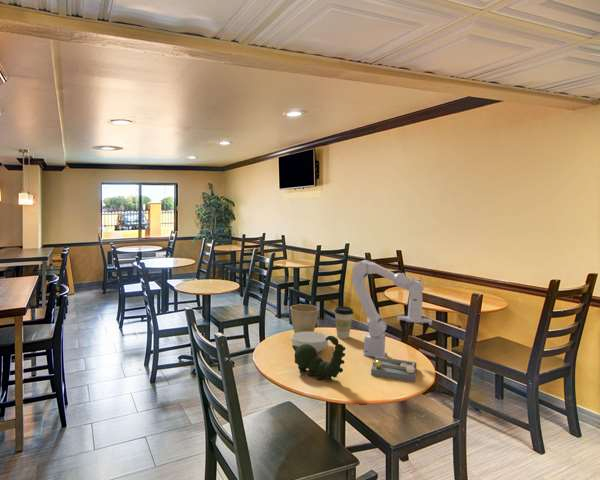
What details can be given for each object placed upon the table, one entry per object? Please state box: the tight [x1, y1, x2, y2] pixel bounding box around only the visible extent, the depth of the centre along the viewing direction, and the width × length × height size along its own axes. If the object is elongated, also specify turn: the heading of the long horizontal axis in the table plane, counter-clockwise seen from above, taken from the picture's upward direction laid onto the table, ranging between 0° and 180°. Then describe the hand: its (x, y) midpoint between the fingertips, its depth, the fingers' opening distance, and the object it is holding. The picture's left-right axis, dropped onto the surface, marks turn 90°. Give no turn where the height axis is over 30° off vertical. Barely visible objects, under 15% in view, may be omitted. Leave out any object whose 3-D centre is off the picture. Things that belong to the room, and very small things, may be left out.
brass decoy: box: [374, 360, 382, 368], centre depth 160 cm, size 3×3×3 cm
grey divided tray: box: [370, 356, 417, 383], centre depth 163 cm, size 17×14×4 cm
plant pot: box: [289, 303, 320, 334], centre depth 201 cm, size 15×15×16 cm
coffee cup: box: [333, 306, 354, 340], centre depth 206 cm, size 10×10×15 cm
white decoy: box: [406, 365, 414, 373], centre depth 156 cm, size 3×3×3 cm
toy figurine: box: [291, 335, 346, 382], centre depth 157 cm, size 9×19×25 cm
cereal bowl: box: [291, 331, 329, 353], centre depth 184 cm, size 17×17×7 cm
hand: (413, 338), depth 174 cm, fingers open, 7 cm apart
